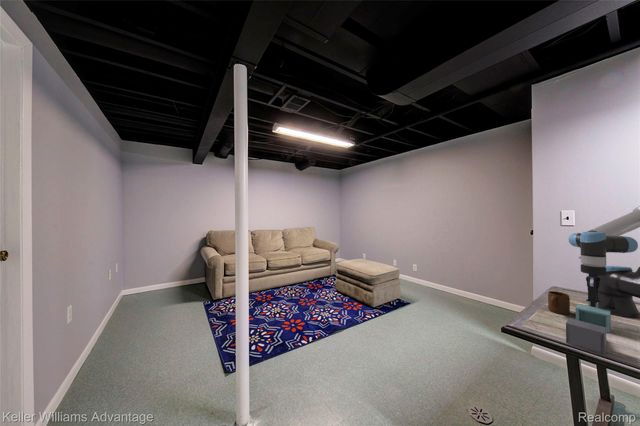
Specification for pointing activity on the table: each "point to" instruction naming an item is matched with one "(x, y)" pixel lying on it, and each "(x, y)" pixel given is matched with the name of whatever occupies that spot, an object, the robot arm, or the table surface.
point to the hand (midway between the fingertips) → (593, 315)
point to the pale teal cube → (594, 316)
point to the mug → (559, 302)
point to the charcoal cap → (586, 335)
